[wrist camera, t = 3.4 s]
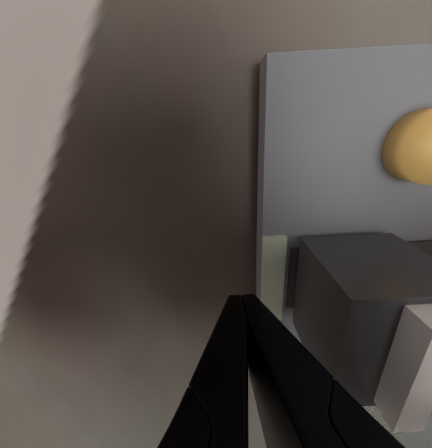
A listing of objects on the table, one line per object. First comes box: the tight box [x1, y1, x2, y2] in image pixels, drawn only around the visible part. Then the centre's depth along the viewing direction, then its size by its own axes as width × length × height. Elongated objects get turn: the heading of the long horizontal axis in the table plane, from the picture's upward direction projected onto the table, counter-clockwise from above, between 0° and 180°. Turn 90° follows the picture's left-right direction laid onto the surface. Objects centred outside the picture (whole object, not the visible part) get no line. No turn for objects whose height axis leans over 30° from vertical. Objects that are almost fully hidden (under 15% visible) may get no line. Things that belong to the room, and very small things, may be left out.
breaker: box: [292, 233, 432, 433], centre depth 7 cm, size 4×3×4 cm
